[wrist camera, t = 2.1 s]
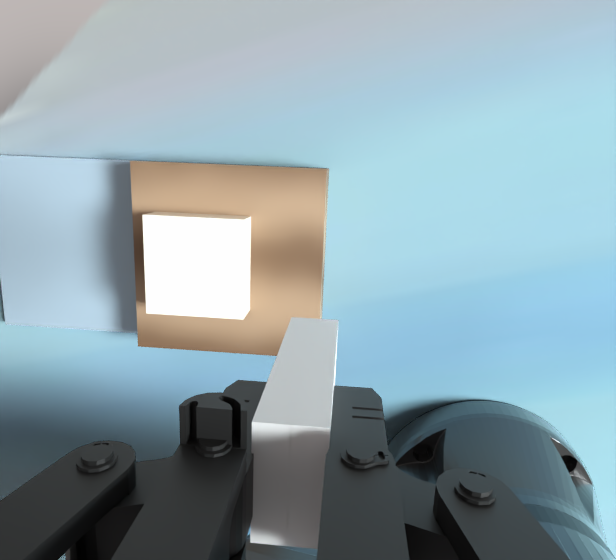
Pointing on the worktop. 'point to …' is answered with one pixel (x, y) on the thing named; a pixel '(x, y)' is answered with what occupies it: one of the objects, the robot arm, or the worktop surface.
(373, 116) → the worktop surface
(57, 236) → the mat
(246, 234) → the tile
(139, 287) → the board
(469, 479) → the robot arm
